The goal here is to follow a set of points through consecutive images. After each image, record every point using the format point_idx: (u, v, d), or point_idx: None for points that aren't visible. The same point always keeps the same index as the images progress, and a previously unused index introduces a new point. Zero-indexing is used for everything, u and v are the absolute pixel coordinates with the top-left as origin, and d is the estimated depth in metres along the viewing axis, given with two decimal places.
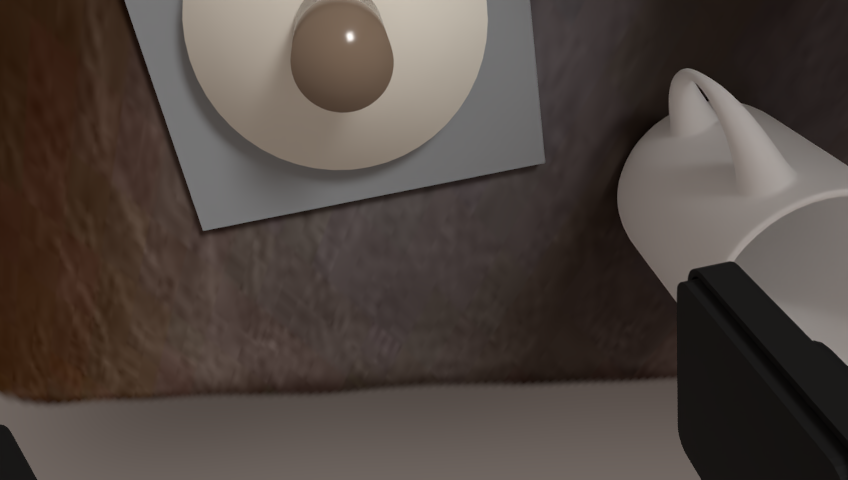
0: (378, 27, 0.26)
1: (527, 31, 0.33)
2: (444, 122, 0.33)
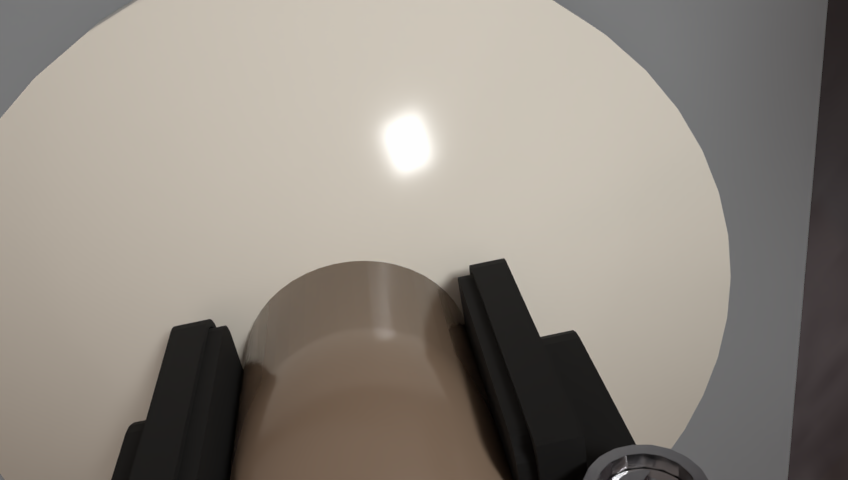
0: None
1: (788, 312, 0.14)
2: None
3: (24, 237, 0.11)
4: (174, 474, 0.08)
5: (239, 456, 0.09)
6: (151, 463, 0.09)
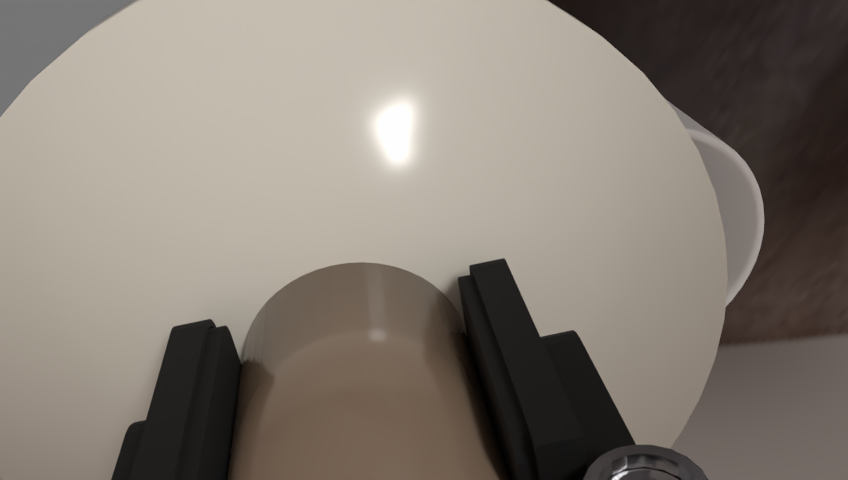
0: None
1: None
2: None
3: (22, 240, 0.11)
4: (174, 473, 0.08)
5: (236, 458, 0.09)
6: (151, 462, 0.09)
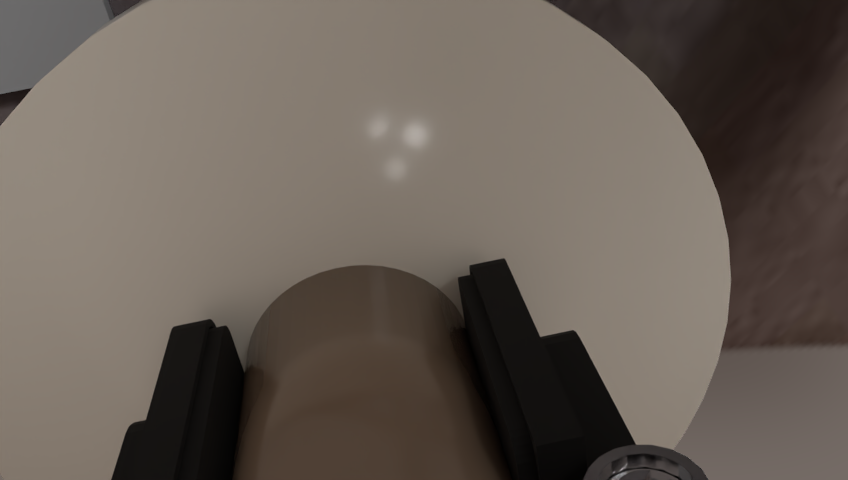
0: None
1: None
2: None
3: (26, 242, 0.11)
4: (174, 474, 0.08)
5: (240, 461, 0.09)
6: (151, 463, 0.09)
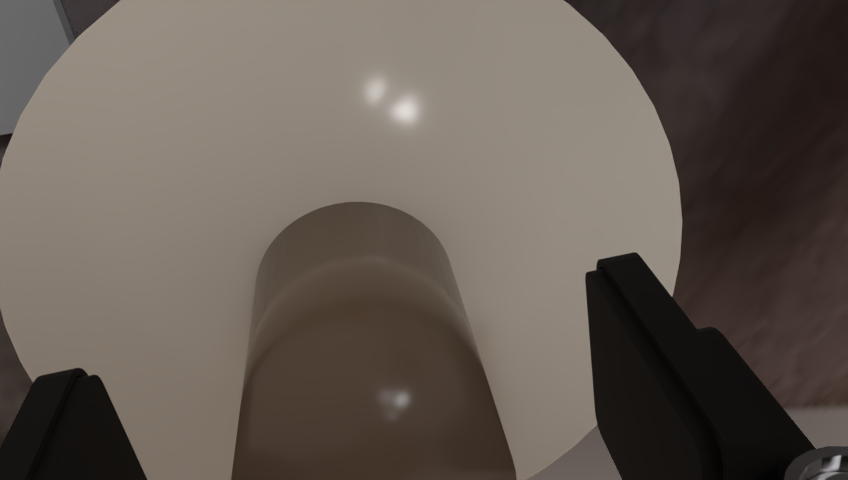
0: (480, 419, 0.09)
1: None
2: (570, 442, 0.16)
3: (66, 177, 0.12)
4: None
5: (253, 353, 0.11)
6: None
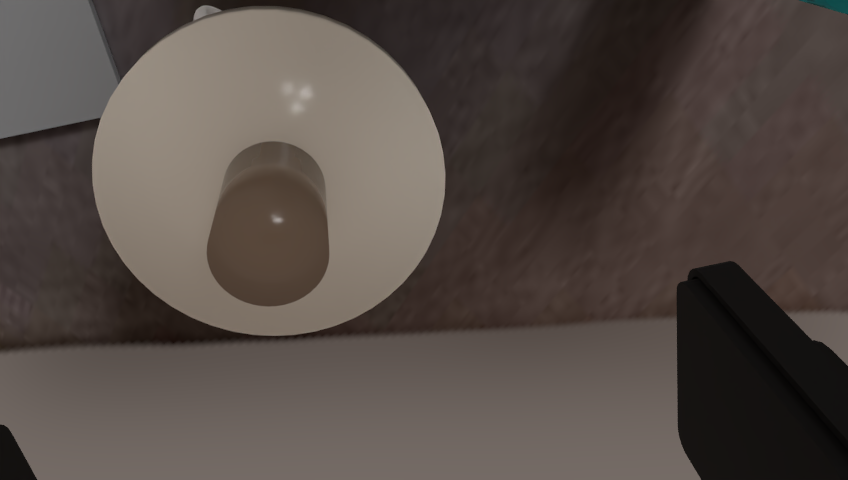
0: (309, 214, 0.22)
1: None
2: (399, 282, 0.29)
3: (130, 127, 0.26)
4: None
5: (218, 201, 0.24)
6: None
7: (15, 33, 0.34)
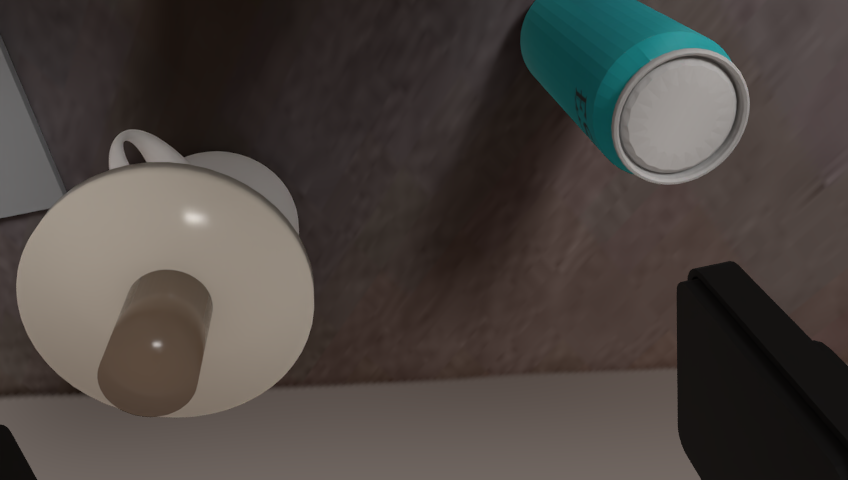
0: (179, 350, 0.28)
1: (15, 96, 0.39)
2: (280, 375, 0.35)
3: (47, 260, 0.31)
4: None
5: (113, 329, 0.30)
6: None
7: None
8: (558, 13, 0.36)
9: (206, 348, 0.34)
